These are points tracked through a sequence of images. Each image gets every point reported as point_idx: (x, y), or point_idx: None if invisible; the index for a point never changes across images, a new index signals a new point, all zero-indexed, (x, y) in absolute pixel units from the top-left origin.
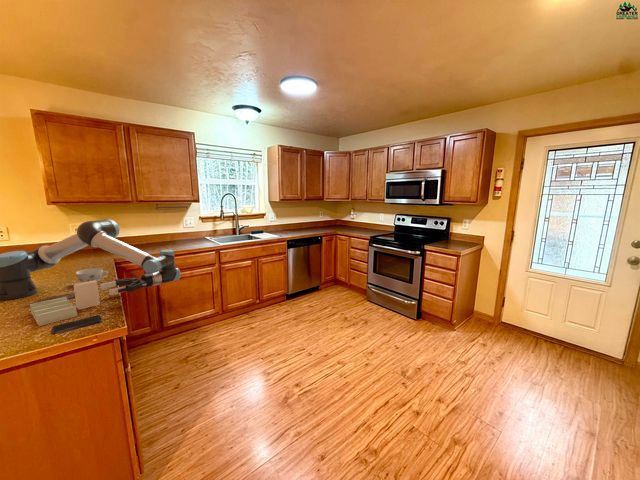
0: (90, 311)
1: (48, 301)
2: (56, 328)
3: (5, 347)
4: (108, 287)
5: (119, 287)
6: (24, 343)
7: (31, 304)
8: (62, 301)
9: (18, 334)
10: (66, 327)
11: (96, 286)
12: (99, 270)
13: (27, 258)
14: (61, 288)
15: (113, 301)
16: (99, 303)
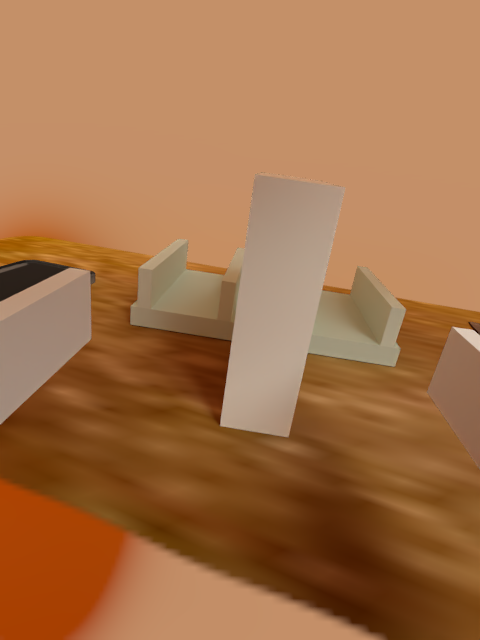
0: (128, 358)
1: (369, 284)
2: (61, 270)
3: (92, 245)
4: (466, 443)
5: (8, 313)
6: (64, 250)
7: (360, 267)
8: None
9: None
10: (23, 274)
11: (247, 235)
12: None
13: None
14: None
15: (184, 514)
16: (222, 415)
